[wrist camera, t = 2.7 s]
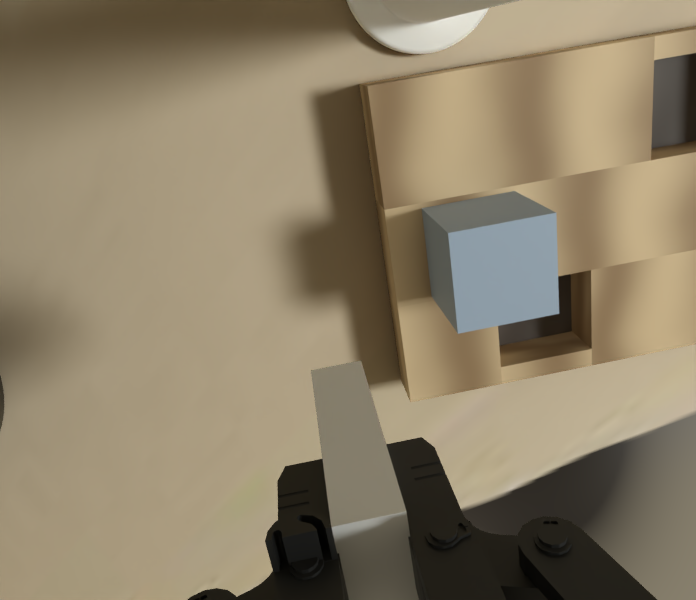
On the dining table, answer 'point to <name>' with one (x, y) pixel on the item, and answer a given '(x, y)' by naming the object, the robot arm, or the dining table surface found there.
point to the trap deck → (546, 201)
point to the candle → (420, 22)
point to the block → (492, 260)
